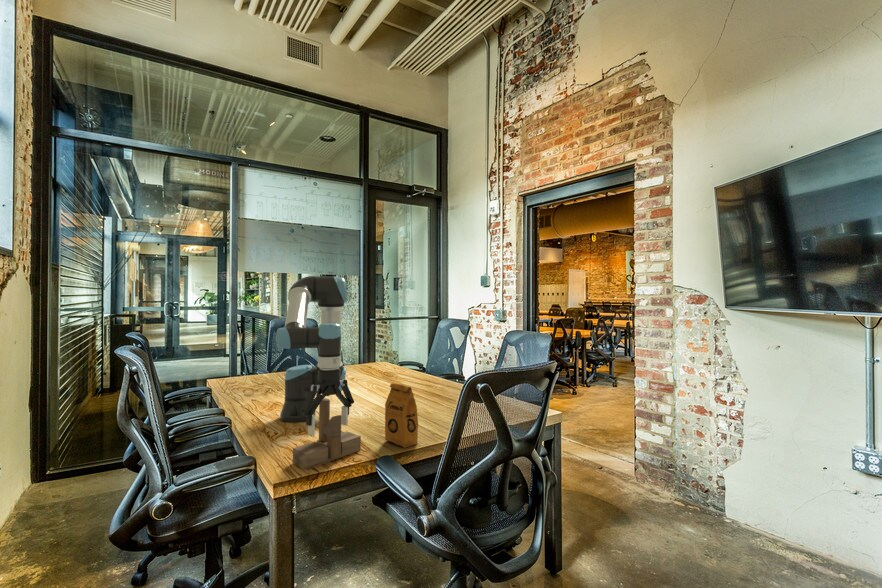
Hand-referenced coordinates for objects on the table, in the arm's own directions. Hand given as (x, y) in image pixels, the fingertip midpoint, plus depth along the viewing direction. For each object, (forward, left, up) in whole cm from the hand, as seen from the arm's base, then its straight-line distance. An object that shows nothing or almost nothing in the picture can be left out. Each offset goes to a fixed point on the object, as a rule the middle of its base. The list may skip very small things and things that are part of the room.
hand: (328, 429), depth 139 cm
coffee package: (+10, +26, -9) cm, 29 cm away
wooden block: (0, 0, -8) cm, 8 cm away
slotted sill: (0, 0, -9) cm, 9 cm away
